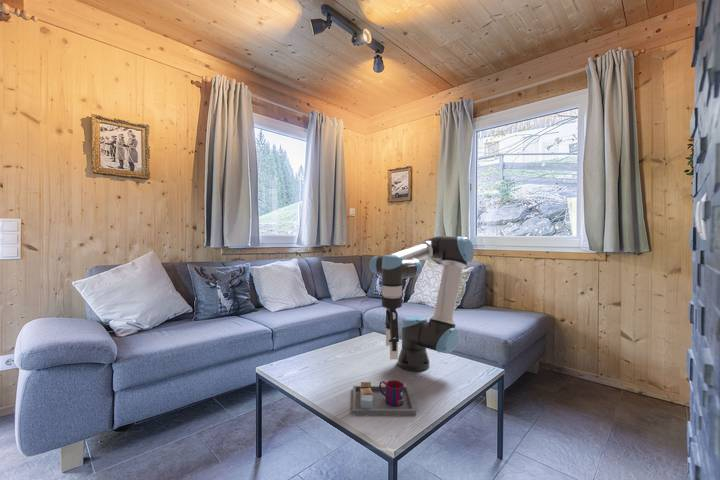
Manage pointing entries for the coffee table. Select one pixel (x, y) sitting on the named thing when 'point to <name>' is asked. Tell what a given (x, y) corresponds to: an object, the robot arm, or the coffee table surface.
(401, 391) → the mug
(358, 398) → the tray
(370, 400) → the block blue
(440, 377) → the coffee table surface
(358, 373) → the coffee table surface
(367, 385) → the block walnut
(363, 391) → the block beech
